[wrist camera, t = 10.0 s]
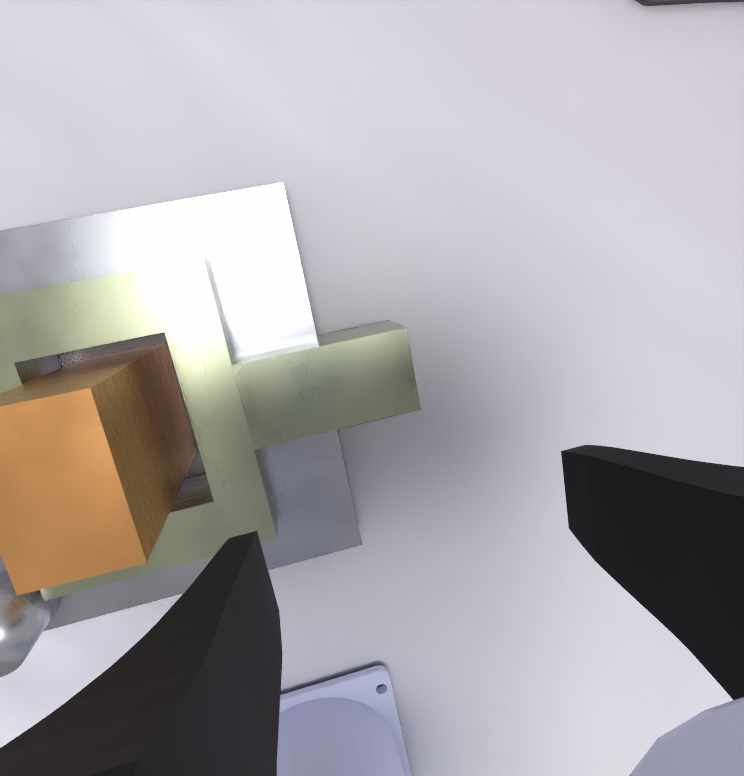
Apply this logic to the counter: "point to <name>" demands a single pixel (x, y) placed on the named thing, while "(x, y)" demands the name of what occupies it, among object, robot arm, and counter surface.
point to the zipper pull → (680, 2)
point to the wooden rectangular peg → (90, 466)
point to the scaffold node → (202, 382)
